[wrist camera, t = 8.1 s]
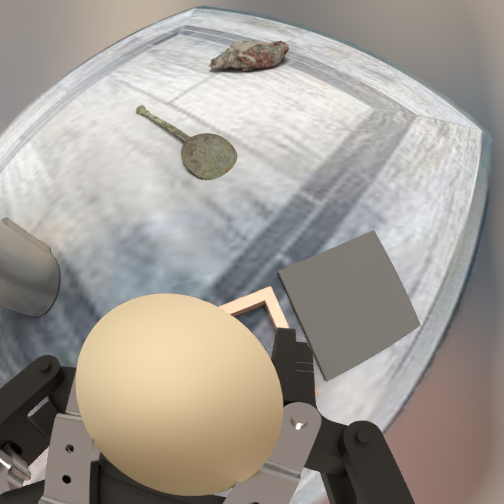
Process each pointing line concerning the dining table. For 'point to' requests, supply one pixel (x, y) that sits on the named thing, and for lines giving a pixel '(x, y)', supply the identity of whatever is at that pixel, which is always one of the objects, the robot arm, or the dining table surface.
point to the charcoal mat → (349, 303)
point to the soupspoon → (201, 151)
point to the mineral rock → (251, 55)
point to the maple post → (179, 395)
